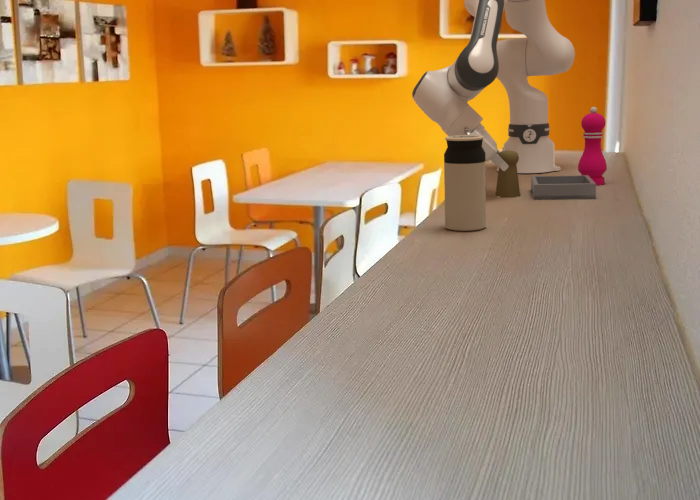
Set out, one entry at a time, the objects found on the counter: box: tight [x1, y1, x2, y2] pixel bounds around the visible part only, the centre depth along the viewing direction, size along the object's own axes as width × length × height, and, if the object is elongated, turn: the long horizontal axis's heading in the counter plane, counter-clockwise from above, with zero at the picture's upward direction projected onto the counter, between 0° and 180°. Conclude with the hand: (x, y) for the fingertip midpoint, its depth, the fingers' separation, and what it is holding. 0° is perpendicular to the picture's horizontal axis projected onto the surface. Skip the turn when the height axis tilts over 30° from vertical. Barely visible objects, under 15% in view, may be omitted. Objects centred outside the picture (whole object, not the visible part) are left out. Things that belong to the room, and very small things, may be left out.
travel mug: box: [443, 135, 487, 232], centre depth 159 cm, size 8×8×18 cm
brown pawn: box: [495, 150, 521, 198], centre depth 198 cm, size 6×6×11 cm
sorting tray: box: [530, 174, 597, 201], centre depth 198 cm, size 16×14×4 cm
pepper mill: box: [577, 106, 608, 187], centre depth 211 cm, size 7×7×20 cm
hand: (506, 166), depth 198 cm, fingers open, 8 cm apart
